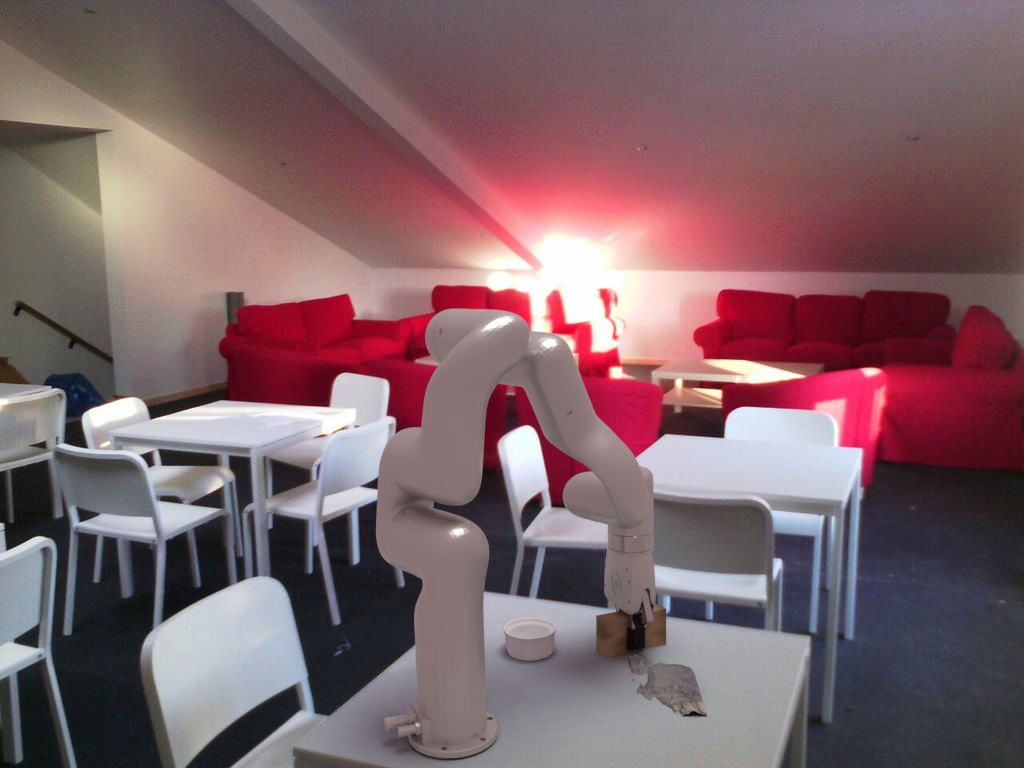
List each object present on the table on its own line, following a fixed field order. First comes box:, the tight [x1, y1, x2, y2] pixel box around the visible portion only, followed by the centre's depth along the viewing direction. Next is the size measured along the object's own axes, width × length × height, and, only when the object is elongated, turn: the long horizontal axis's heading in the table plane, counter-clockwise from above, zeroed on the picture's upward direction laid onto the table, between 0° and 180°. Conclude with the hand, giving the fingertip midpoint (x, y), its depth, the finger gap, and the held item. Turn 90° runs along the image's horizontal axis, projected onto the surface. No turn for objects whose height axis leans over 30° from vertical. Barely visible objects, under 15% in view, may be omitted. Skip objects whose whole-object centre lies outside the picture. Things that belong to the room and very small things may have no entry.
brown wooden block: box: [595, 603, 667, 659], centre depth 148 cm, size 12×3×6 cm, turn 111°
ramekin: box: [503, 616, 557, 662], centre depth 148 cm, size 9×9×4 cm
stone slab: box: [628, 654, 707, 717], centre depth 135 cm, size 18×2×10 cm
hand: (631, 644), depth 149 cm, fingers closed on brown wooden block, 2 cm apart
